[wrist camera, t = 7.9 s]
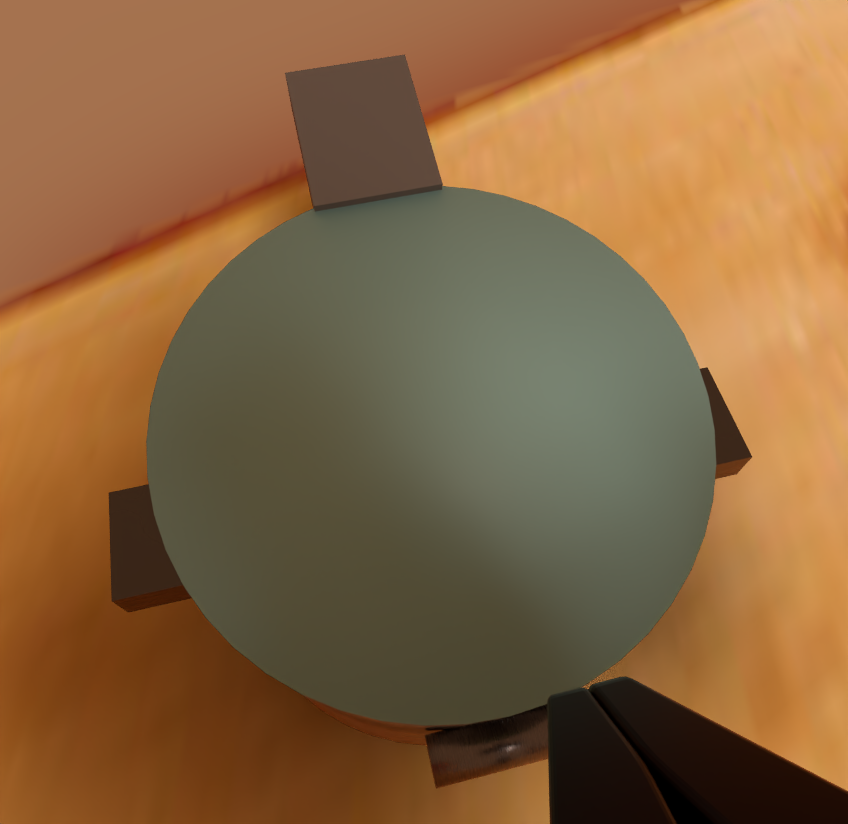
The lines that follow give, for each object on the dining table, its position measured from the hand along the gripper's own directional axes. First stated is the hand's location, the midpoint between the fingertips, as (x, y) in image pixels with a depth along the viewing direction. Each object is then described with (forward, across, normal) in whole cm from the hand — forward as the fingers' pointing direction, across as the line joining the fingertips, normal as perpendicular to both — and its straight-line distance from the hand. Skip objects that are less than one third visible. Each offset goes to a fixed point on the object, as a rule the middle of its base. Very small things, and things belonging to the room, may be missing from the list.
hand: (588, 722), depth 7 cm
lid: (+10, 0, -2) cm, 10 cm away
